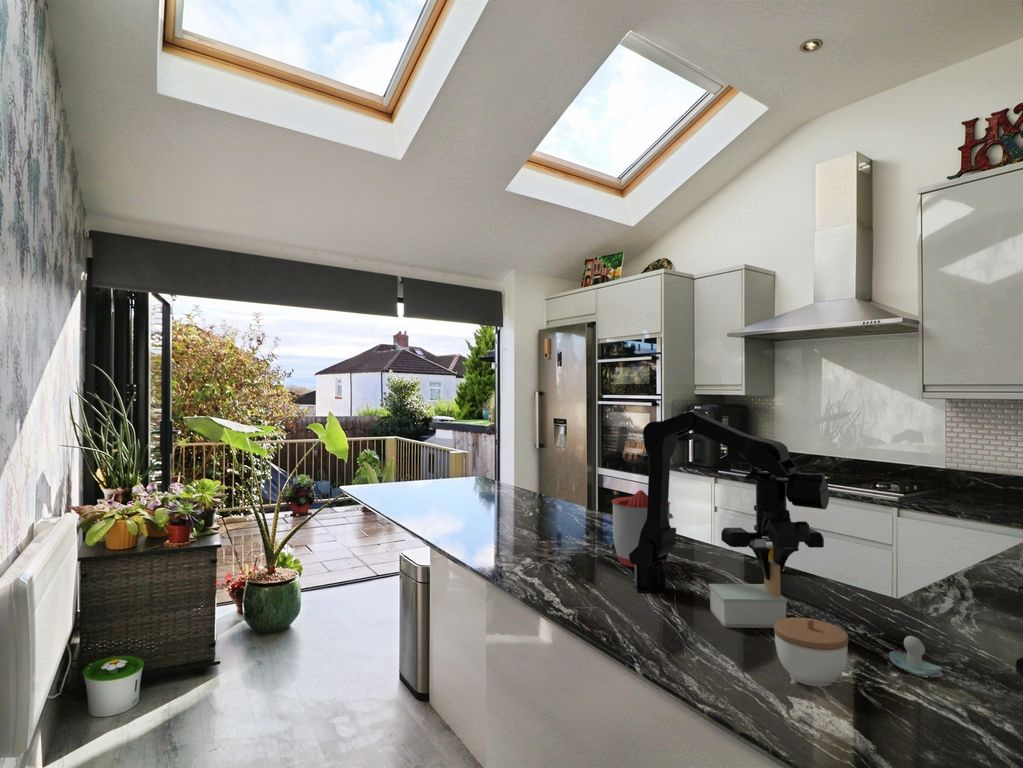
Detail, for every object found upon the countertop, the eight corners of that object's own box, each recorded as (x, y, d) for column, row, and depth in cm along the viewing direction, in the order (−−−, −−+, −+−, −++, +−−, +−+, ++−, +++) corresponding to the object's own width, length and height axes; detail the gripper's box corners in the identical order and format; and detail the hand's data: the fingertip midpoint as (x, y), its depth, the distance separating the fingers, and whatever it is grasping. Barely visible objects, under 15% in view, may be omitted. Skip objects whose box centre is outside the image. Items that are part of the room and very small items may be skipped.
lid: (723, 607, 116) (723, 568, 116) (708, 591, 125) (708, 555, 125) (787, 607, 115) (786, 568, 115) (767, 591, 125) (767, 555, 125)
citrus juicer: (688, 567, 156) (687, 492, 157) (632, 575, 150) (632, 496, 150) (653, 553, 171) (653, 484, 171) (601, 559, 164) (601, 487, 165)
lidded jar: (768, 682, 93) (768, 622, 94) (780, 657, 102) (779, 603, 103) (846, 701, 88) (845, 638, 88) (851, 673, 96) (850, 615, 97)
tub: (724, 627, 116) (724, 601, 116) (710, 610, 125) (710, 587, 125) (786, 627, 115) (785, 602, 115) (767, 611, 124) (767, 587, 124)
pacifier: (902, 661, 102) (884, 668, 98) (902, 624, 102) (884, 630, 99) (951, 678, 95) (934, 686, 92) (951, 639, 96) (934, 646, 92)
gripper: (739, 510, 113) (740, 592, 112) (838, 510, 112) (839, 593, 112) (720, 500, 124) (720, 574, 123) (809, 500, 123) (810, 575, 123)
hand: (771, 579), depth 120 cm, fingers closed
